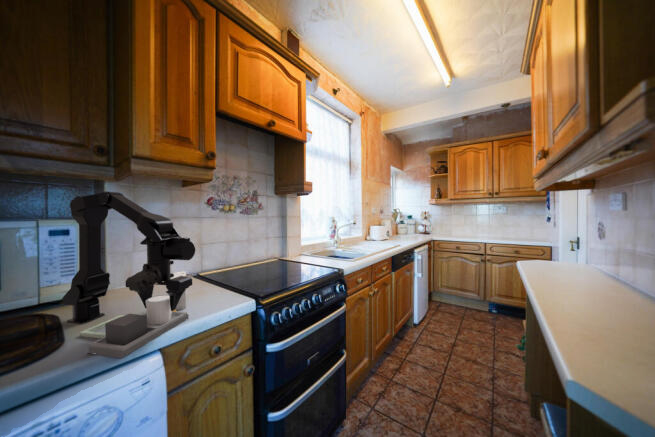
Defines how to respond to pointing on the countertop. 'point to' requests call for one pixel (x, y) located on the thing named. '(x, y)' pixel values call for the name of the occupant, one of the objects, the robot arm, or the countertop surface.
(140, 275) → the robot arm
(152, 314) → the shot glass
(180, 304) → the ink box
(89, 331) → the tray rim
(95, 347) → the grey divided tray
